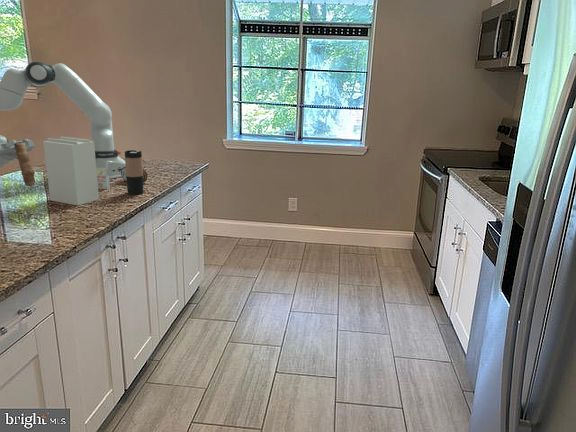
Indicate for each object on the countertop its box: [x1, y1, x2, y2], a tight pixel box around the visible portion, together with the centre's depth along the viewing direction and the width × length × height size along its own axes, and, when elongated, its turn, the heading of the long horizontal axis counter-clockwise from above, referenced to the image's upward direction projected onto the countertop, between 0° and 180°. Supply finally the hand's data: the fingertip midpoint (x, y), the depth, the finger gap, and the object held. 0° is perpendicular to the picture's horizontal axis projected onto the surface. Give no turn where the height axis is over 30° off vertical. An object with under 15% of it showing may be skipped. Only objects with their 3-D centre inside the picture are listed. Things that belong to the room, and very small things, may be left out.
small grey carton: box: [96, 168, 111, 191], centre depth 218 cm, size 4×7×10 cm, turn 92°
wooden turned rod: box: [14, 143, 36, 187], centre depth 204 cm, size 20×5×5 cm
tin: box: [121, 167, 148, 184], centre depth 232 cm, size 15×3×8 cm, turn 71°
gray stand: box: [42, 136, 100, 206], centre depth 194 cm, size 16×12×27 cm
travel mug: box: [124, 149, 144, 196], centre depth 211 cm, size 8×8×20 cm
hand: (21, 140), depth 201 cm, fingers closed on wooden turned rod, 4 cm apart
